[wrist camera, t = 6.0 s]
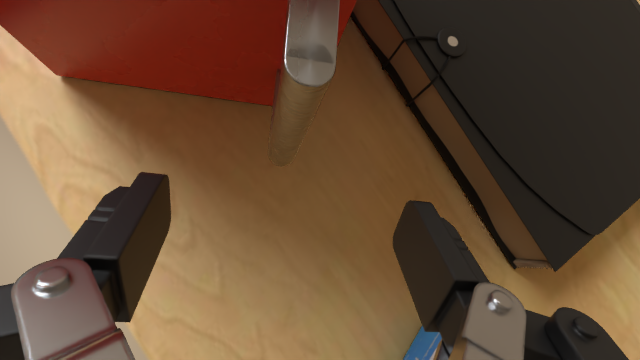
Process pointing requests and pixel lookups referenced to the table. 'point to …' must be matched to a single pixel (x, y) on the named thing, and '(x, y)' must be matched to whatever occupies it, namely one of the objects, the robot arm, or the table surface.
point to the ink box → (423, 346)
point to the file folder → (523, 109)
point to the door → (195, 50)
